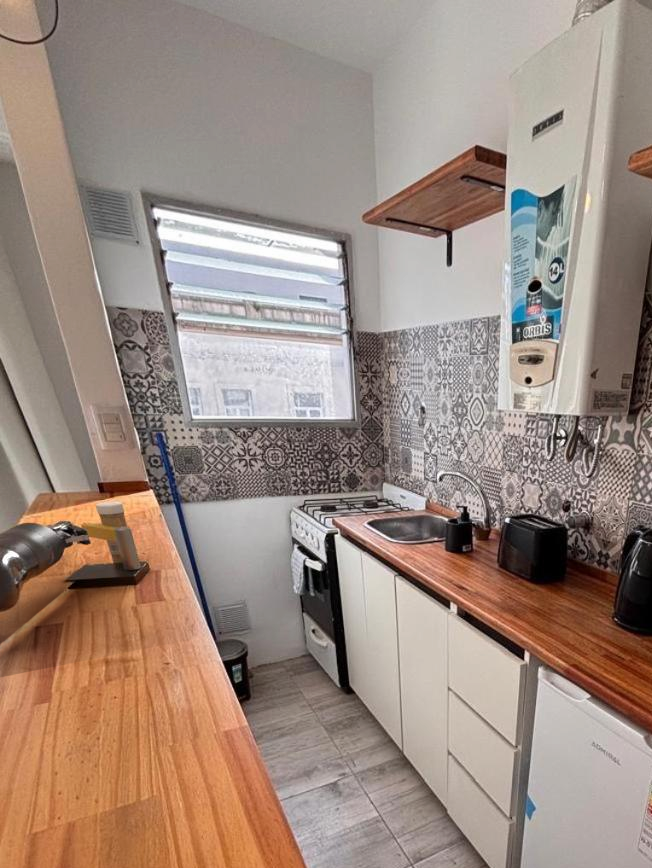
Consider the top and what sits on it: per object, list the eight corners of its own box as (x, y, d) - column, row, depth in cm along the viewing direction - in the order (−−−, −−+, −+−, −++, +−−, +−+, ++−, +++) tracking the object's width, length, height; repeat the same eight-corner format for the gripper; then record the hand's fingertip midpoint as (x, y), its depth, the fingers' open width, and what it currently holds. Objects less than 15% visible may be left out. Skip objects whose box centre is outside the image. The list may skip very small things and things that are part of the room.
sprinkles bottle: (143, 564, 112) (127, 501, 106) (127, 570, 108) (109, 505, 102) (125, 562, 113) (108, 500, 107) (108, 568, 109) (89, 504, 103)
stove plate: (67, 589, 97) (64, 579, 97) (87, 573, 106) (84, 564, 105) (136, 584, 101) (134, 575, 100) (150, 569, 109) (147, 560, 108)
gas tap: (89, 562, 106) (77, 523, 103) (102, 559, 108) (91, 520, 105) (131, 571, 102) (119, 530, 99) (144, 567, 104) (133, 527, 101)
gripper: (65, 527, 82) (102, 505, 97) (-37, 530, 79) (18, 507, 93) (80, 572, 86) (113, 544, 100) (-18, 577, 82) (32, 547, 97)
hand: (67, 526), depth 97 cm, fingers closed
